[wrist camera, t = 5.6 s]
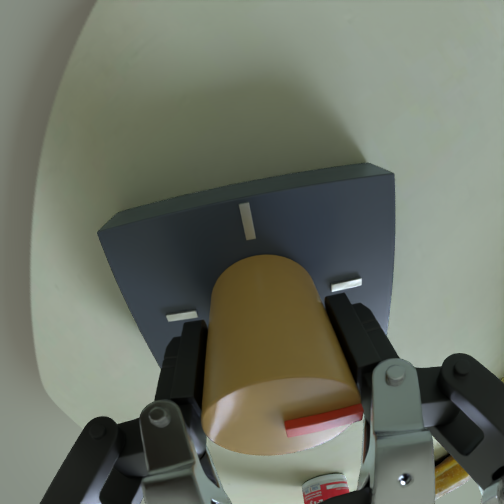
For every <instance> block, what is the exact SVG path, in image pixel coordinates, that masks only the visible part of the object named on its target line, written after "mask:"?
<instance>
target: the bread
mask: <svg viewBox="0 0 504 504" xmlns="http://www.w3.org/2000/svg"><path fill="white" fill-rule="evenodd" d="M470 479H471V477H470V475H469V474H468V473H467V472H466V471H465V470H464V469H463V468H462V467H461V466H460V465H459V464H458V462H457V461H456V460H455V459H454V458H453V457H452V456H451V455H450V456H449V457H447V458H445V460H444V461H442V462H441V463H440V464H439V465H437V466H436V467H435V500H436V499H437V498H440V497H442V496H443V495H445V494H447V493H450V492H451V491H452V490H454V489H456V488H458V487H460V486H461V485H463V484H464V483H466V482H467V481H469V480H470Z"/></svg>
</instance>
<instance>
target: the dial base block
mask: <svg viewBox="0 0 504 504" xmlns="http://www.w3.org/2000/svg"><path fill="white" fill-rule="evenodd" d="M97 234H98V237H99V240H100V242H101V245H102V248H103V250H104V253H105V255H106V258H107V260H108V263H109V265H110V267H111V270H112V272H113V274H114V277H115V279H116V281H117V284H118V286H119V288H120V290H121V293H122V295H123V297H124V299H125V301H126V303H127V305H128V308H129V310H130V312H131V314H132V316H133V318H134V320H135V322H136V324H137V326H138V328H139V330H140V332H141V334H142V336H143V337H144V339H145V341H146V343H147V345H148V347H149V349H150V351H151V352H152V354H153V356H154V358H155V360H156V361H157V363H158V365H159V367H160V368H161V369H162V363H163V360H164V354H165V350H166V347H167V345H168V344H169V343H170V341H171V340H172V338H173V337H179V336H181V334H182V328H183V324H184V322H189V321H196V320H202V319H203V320H205V322H206V325H207V327H208V325H209V315H210V305H211V295H212V291H213V288H214V285H215V283H216V281H217V280H218V278H219V277H220V275H221V274H222V273H223V272H224V271H225V270H226V269H227V268H229V267H230V266H231V265H233V264H234V263H236V262H238V261H240V260H242V259H245V258H248V257H251V256H256V255H277V256H282V257H285V258H288V259H291V260H293V261H295V262H296V263H298V264H299V265H301V266H302V267H303V268H304V269H305V270H306V271H307V272H308V274H309V275H310V277H311V278H312V280H313V282H314V285H315V287H316V289H317V291H318V294H319V296H320V298H321V301H322V303H323V305H324V308H325V302H324V299H325V297H326V296H330V295H334V294H339V293H343V292H344V293H345V294H346V295H347V297H348V299H349V301H350V303H351V304H355V303H359V302H360V303H362V304H363V305H365V306H366V307H368V308H369V309H370V310H371V311H372V313H373V314H374V316H375V318H376V321H378V323H379V324H380V326H381V328H382V329H383V331H384V333H385V334H386V336H387V329H388V322H389V313H390V304H391V295H392V283H393V269H394V251H395V178H394V173H392V172H390V171H388V170H385V169H383V168H380V167H378V166H376V165H373V164H371V163H361V164H353V165H345V166H338V167H331V168H324V169H317V170H311V171H304V172H298V173H292V174H286V175H280V176H275V177H269V178H264V179H258V180H253V181H248V182H243V183H238V184H233V185H228V186H223V187H219V188H214V189H209V190H205V191H200V192H196V193H192V194H187V195H183V196H179V197H175V198H171V199H167V200H163V201H159V202H155V203H151V204H147V205H143V206H139V207H136V208H132V209H128V210H125V211H121V212H118V213H117V214H116V215H115V216H113V217H112V218H111V219H110V220H109V221H108V222H107V223H106V224H105V225H104V226H103V227H102V228H101V229H100V230H99V231H98V232H97Z"/></svg>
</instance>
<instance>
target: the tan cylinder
mask: <svg viewBox="0 0 504 504" xmlns="http://www.w3.org/2000/svg"><path fill="white" fill-rule="evenodd" d="M363 413H364V409H363V407H362V404H361V396H360V393H359V390H358V388H357V385H356V383H355V380H354V378H353V375H352V372H351V370H350V367H349V365H348V363H347V360H346V358H345V355H344V353H343V350H342V348H341V345H340V343H339V341H338V338H337V336H336V333H335V331H334V329H333V326H332V324H331V322H330V319H329V317H328V314H327V312H326V310H325V308H324V305H323V303H322V301H321V298H320V296H319V294H318V291H317V289H316V287H315V285H314V282H313V280H312V278H311V277H310V275H309V274H308V272H307V271H306V270H305V269H304V268H303V267H302V266H301V265H299V264H298V263H296V262H295V261H293V260H291V259H288V258H285V257H282V256H277V255H256V256H251V257H248V258H245V259H242V260H240V261H238V262H236V263H234V264H233V265H231V266H230V267H229V268H227V269H226V270H225V271H224V272H223V273H222V274H221V275H220V277H219V278H218V280H217V281H216V283H215V285H214V288H213V291H212V295H211V305H210V315H209V325H208V336H207V347H206V358H205V370H204V383H203V396H202V411H201V426H202V429H203V431H204V433H205V434H206V436H207V437H208V438H209V439H210V440H211V441H213V442H214V443H216V444H217V445H219V446H221V447H223V448H225V449H228V450H231V451H234V452H238V453H243V454H249V455H261V456H270V455H283V454H290V453H295V452H299V451H303V450H307V449H310V448H313V447H316V446H318V445H320V444H323V443H325V442H327V441H329V440H331V439H333V438H334V437H336V436H337V435H339V434H340V433H342V432H343V431H344V430H345V429H347V428H348V427H349V426H350V425H351V424H352V423H354V422H357V421H361V420H362V417H363Z"/></svg>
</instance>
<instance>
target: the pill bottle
mask: <svg viewBox="0 0 504 504" xmlns="http://www.w3.org/2000/svg"><path fill="white" fill-rule="evenodd" d="M302 491H303V497H304V504H317V503H320V502H322V501H324V500H326V499H329V498H331V497H334V496H338V495H342V494H346V493H349V488H348V484H347V480H346V477H345V476H344V475H343V474H329V475H324V476H319V477H316V478H313V479H311V480H309V481H307V482H305V483H304V484H303V485H302Z"/></svg>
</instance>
